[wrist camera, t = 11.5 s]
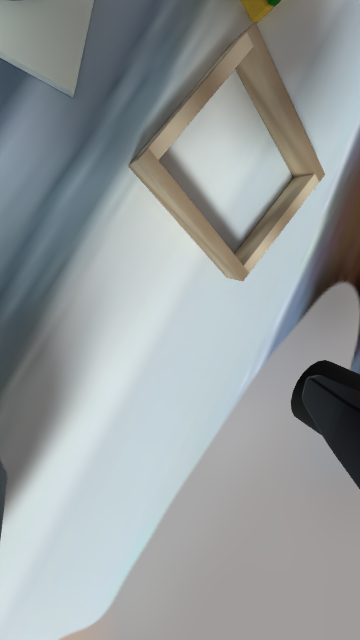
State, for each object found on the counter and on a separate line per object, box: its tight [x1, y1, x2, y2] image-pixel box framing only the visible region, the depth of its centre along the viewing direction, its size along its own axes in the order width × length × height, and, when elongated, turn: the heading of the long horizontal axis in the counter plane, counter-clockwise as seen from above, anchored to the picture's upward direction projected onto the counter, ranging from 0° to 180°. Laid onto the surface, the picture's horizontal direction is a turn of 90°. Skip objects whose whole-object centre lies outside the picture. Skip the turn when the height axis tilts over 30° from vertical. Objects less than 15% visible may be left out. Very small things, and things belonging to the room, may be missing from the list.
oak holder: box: [129, 22, 325, 281], centre depth 19 cm, size 11×11×2 cm
